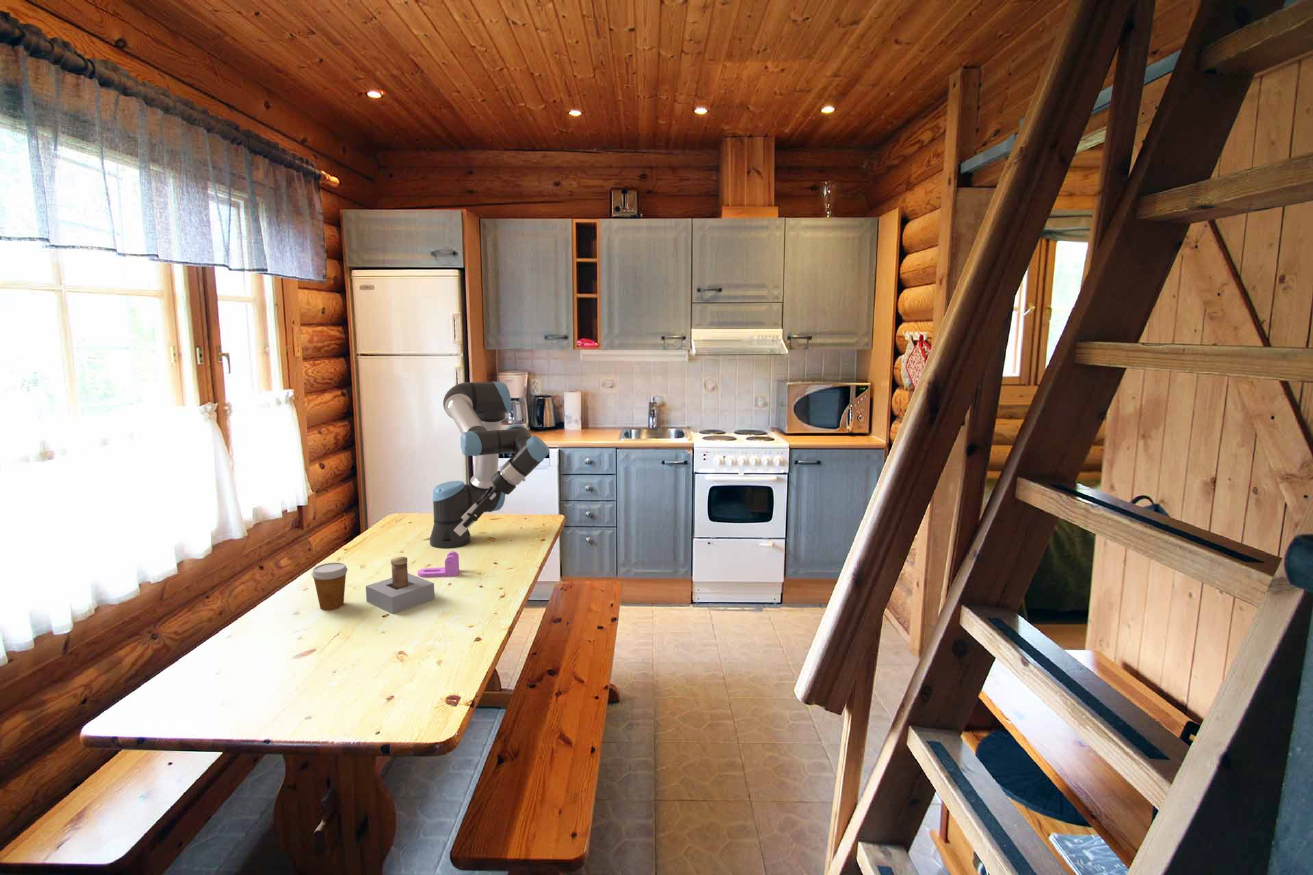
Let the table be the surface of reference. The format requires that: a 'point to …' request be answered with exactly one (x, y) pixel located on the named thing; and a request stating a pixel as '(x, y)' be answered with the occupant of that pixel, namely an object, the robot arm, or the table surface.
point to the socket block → (400, 594)
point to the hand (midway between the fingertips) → (460, 526)
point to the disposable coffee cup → (330, 584)
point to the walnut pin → (399, 572)
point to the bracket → (443, 568)
